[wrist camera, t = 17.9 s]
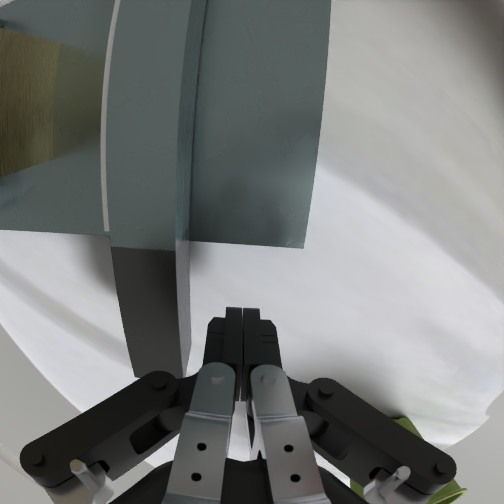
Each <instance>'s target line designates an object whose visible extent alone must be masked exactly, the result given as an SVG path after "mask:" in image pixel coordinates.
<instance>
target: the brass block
mask: <svg viewBox="0 0 504 504" xmlns="http://www.w3.org/2000/svg"><path fill="white" fill-rule="evenodd" d="M59 45H60V43H58V42H54V41H51V40H47V39H44V38H40V37H36V36H33V35H29V34H24V33H20V32H16V31H11V30H7V29H2V28H0V178H2V177H5V176H7V175H10V174H12V173H15V172H18V171H20V170H23V169H26V168H29V167H32V166H35V165H38V164H41V163H44V162H47V161H50V160H53V103H54V88H55V77H56V68H57V59H58V52H59Z"/></svg>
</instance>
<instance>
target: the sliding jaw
mask: <svg viewBox="0 0 504 504" xmlns="http://www.w3.org/2000/svg"><path fill="white" fill-rule="evenodd" d="M206 1H207V0H115V5H114V10H113V15H112V21H111V26H110V32H109V39H108V46H107V53H106V62H105V71H104V81H103V94H102V111H101V187H102V205H103V219H104V230H105V231H109V232H110V243H111V252H112V260H113V268H114V275H115V282H116V289H117V295H118V301H119V307H120V312H121V318H122V323H123V328H124V333H125V338H126V342H127V347H128V351H129V355H130V360H131V364H132V368H133V372H134V376H135V377H137V378H141V377H143V376H145V375H146V374H148V373H150V372H153V371H166V372H169V373H171V374H172V375H173V376H175V378H176V379H179V378H185V375H186V370H187V365H188V359H189V354H190V349H191V344H192V343H191V318H190V276H189V225H190V183H191V159H192V140H193V124H194V110H195V97H196V85H197V75H198V65H199V55H200V46H201V38H202V30H203V22H204V15H205V7H206Z"/></svg>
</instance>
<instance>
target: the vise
mask: <svg viewBox="0 0 504 504" xmlns="http://www.w3.org/2000/svg"><path fill="white" fill-rule="evenodd" d="M114 5H115V0H15V1H13V2H11V3H9V4H7V5H5V6H3V7H1V8H0V28H2V29H7V30H11V31H16V32H20V33H24V34H29V35H33V36H36V37H40V38H44V39H47V40H51V41H54V42H58V43H60V45H59V52H58V59H57V68H56V77H55V88H54V103H53V160H50V161H47V162H44V163H41V164H38V165H35V166H32V167H29V168H26V169H23V170H20V171H18V172H15V173H12V174H10V175H7V176H5V177H2V178H0V230H17V231H35V232H53V233H71V234H88V235H105V236H110V232H109V231H105V230H104V219H103V205H102V187H101V111H102V94H103V81H104V71H105V62H106V53H107V46H108V39H109V32H110V26H111V21H112V15H113V10H114ZM330 12H331V0H207V1H206V7H205V15H204V22H203V30H202V38H201V46H200V55H199V65H198V75H197V85H196V97H195V110H194V124H193V140H192V159H191V183H190V225H189V241H200V242H215V243H230V244H245V245H259V246H274V247H288V248H302V249H303V248H304V242H305V236H306V230H307V224H308V217H309V211H310V204H311V197H312V190H313V183H314V176H315V169H316V161H317V153H318V145H319V137H320V129H321V120H322V111H323V101H324V91H325V80H326V69H327V57H328V44H329V29H330Z"/></svg>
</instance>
